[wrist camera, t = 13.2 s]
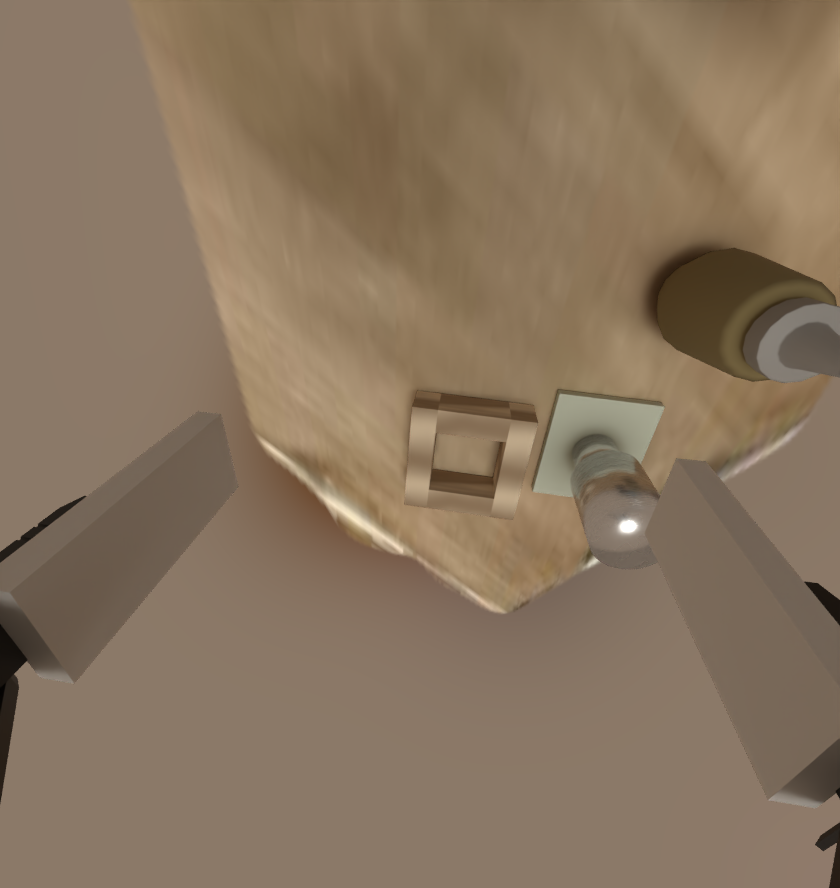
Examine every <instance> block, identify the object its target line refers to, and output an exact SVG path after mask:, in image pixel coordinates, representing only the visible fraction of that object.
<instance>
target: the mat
mask: <svg viewBox="0 0 840 888" xmlns="http://www.w3.org/2000/svg"><path fill="white" fill-rule="evenodd" d="M664 408H665V406H664V405H663V404H662V403H661V402H654V401H646V400H638V399H630V398H622V397H614V396H606V395H598V394H590V393H581V392H573V391H565V390H558V392H557V396H556V399H555V403H554V407H553V410H552V414H551V418H550V421H549V425H548V429H547V432H546V436H545V440H544V443H543V447H542V451H541V454H540V458H539V462H538V465H537V469H536V473H535V476H534V480H533V484H532V491H533V492H538V493H545V494H553V495H560V496H567V497H573V494H572V491H571V487H570V478H571V474H572V472H573V470H574V468H575V465H574V462H573V460H572V449H573V447H574V445H575V444H576V443H577V442H578V441H579V440H580V439H582V438H583V437H585V436H588V435H592V434H601V435H605V436H607V437H609V438H611V439H612V440H613V442H614V443H615V445H616V447H617V448H618V450H619V451H622V452H625V453H628V454H630V455H632V456H633V457H635V458H636V459H637V460H638V461H639V463H640V464H641V462H642V460H643V458H644V455H645V453H646V450H647V448H648V446H649V443H650V441H651V439H652V436H653V434H654V432H655V429H656V427H657V425H658V422H659V420H660V417H661V415H662V413H663V410H664Z"/></svg>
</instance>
